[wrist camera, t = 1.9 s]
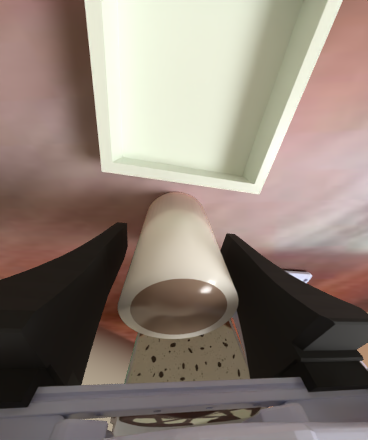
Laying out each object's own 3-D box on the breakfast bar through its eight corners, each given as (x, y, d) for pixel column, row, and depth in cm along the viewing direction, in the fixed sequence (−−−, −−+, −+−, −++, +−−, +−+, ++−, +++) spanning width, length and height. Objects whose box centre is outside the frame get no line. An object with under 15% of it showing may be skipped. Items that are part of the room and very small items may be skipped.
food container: (141, 324, 22) (120, 449, 13) (134, 298, 19) (102, 439, 10) (224, 318, 23) (256, 433, 14) (231, 293, 20) (278, 420, 11)
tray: (243, 182, 12) (259, 194, 10) (116, 163, 11) (101, 171, 9) (313, -12, 7) (375, -76, 5) (103, -90, 6) (62, -220, 4)
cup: (198, 244, 15) (219, 339, 8) (145, 240, 14) (120, 339, 8) (211, 196, 13) (258, 274, 6) (148, 187, 12) (113, 264, 5)
